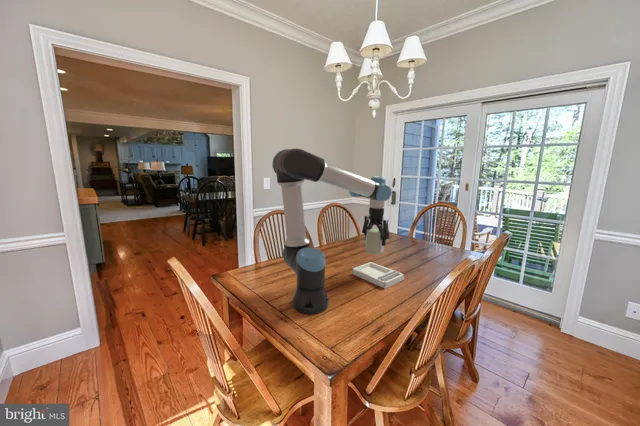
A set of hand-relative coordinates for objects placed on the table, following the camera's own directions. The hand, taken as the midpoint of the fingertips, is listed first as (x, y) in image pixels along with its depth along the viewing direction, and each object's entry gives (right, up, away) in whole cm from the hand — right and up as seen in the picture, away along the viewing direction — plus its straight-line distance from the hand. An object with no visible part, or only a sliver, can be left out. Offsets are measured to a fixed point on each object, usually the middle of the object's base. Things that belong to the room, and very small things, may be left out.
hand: (374, 248), depth 139 cm
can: (0, -2, 0) cm, 2 cm away
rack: (+2, -15, +1) cm, 15 cm away
